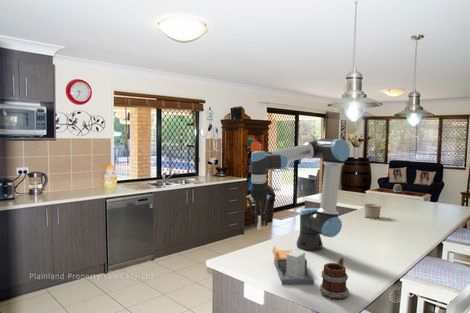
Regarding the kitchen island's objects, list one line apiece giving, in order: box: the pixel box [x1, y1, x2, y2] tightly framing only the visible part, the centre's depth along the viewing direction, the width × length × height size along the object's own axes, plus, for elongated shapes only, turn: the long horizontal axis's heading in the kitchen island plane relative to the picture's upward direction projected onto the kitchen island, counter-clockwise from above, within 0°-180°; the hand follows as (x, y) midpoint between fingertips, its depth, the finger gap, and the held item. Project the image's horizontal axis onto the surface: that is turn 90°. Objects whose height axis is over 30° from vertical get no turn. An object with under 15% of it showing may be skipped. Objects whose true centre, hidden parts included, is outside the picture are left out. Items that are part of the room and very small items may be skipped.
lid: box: [272, 245, 301, 260], centre depth 166 cm, size 14×12×3 cm
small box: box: [286, 249, 306, 278], centre depth 155 cm, size 8×6×10 cm
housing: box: [273, 257, 315, 286], centre depth 160 cm, size 14×25×6 cm, turn 1°
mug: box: [319, 257, 350, 301], centre depth 140 cm, size 12×14×15 cm
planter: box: [363, 203, 382, 219], centre depth 274 cm, size 13×13×10 cm
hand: (259, 229), depth 167 cm, fingers closed
